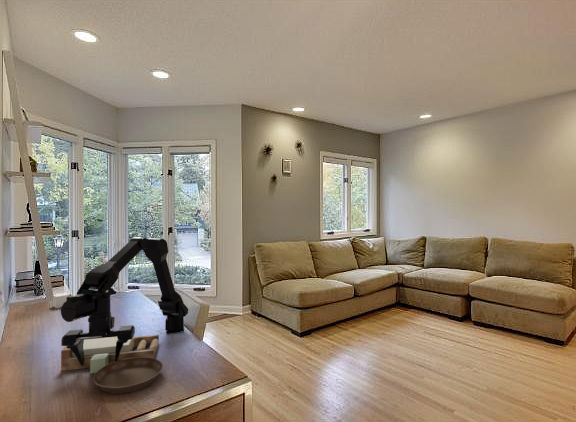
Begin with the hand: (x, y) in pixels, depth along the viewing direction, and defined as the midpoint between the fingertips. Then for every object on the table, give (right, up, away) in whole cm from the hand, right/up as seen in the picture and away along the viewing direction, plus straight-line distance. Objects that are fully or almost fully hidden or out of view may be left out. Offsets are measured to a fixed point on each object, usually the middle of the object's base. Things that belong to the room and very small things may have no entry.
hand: (99, 363), depth 101 cm
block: (0, -2, 0) cm, 2 cm away
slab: (-3, 0, +9) cm, 10 cm away
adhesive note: (-60, -3, +70) cm, 92 cm away
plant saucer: (+12, -2, -7) cm, 14 cm away
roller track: (0, -2, +10) cm, 10 cm away
